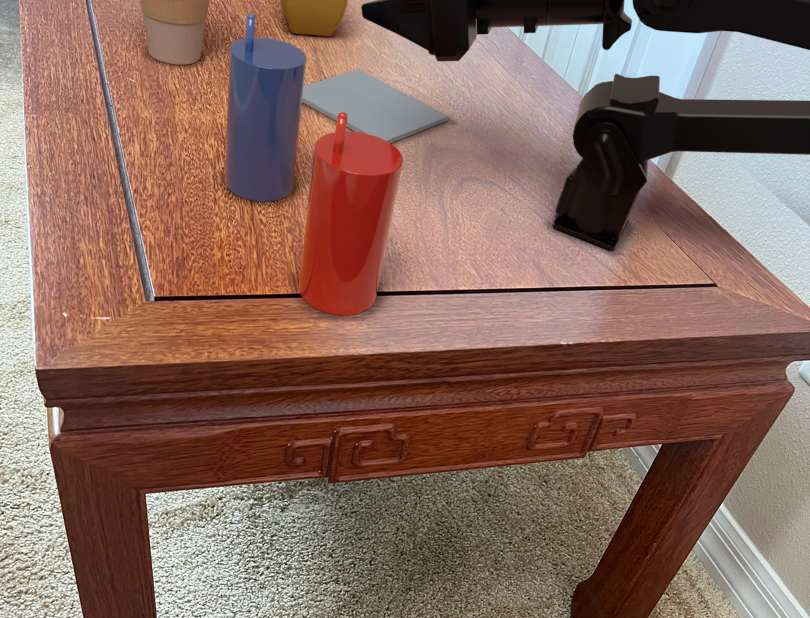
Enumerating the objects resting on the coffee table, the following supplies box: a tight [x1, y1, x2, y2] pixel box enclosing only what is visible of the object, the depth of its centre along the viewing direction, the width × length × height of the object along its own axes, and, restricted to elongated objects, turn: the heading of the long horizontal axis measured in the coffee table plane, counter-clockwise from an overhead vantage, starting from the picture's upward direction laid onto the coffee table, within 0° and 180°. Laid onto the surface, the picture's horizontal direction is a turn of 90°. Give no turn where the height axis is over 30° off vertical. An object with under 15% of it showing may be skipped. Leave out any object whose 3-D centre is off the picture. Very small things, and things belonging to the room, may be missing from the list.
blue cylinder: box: [224, 12, 307, 203], centre depth 72 cm, size 6×6×16 cm
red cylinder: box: [298, 112, 404, 316], centre depth 62 cm, size 6×6×16 cm
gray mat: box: [302, 69, 449, 144], centre depth 94 cm, size 14×12×1 cm
